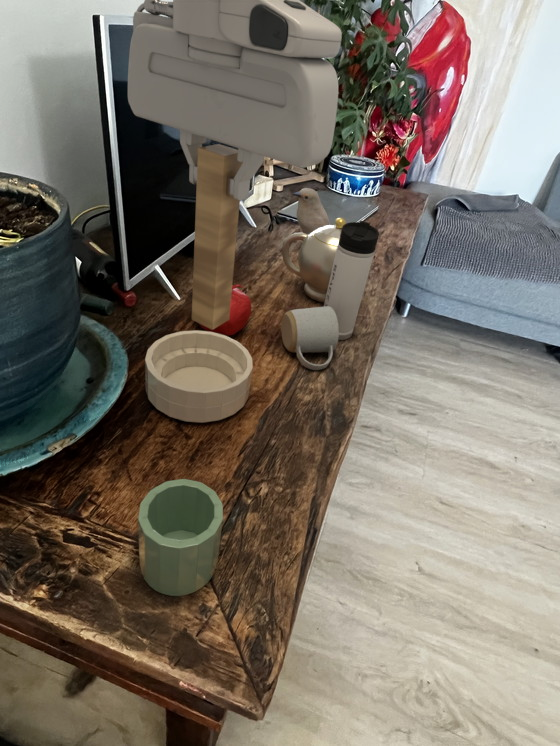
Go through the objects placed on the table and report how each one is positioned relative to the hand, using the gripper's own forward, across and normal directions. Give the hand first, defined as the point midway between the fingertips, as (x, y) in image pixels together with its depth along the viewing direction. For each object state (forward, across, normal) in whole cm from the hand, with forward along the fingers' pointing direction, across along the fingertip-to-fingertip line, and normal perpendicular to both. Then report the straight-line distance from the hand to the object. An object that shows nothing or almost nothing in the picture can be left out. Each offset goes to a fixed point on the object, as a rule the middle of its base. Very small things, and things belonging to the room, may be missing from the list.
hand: (218, 191), depth 47 cm
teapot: (+32, -9, +48) cm, 58 cm away
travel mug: (+32, +1, +37) cm, 49 cm away
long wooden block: (+14, 0, 0) cm, 14 cm away
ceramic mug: (+32, +1, +27) cm, 42 cm away
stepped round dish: (+32, -6, +6) cm, 33 cm away
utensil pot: (+32, +10, -16) cm, 37 cm away
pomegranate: (+32, -15, +23) cm, 42 cm away
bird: (+32, -21, +66) cm, 76 cm away
